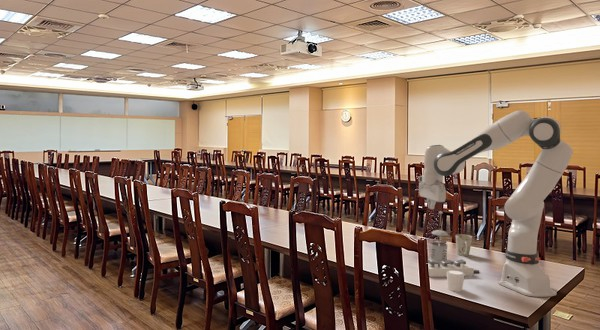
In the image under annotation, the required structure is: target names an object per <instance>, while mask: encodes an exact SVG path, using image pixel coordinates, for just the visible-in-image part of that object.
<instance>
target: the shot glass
mask: <svg viewBox="0 0 600 330" xmlns="http://www.w3.org/2000/svg"><path fill="white" fill-rule="evenodd" d="M464 275H465V273H464V272H461V271H457V270H448V271H447V276H446V286H447V290H449V291H452V292H458V293H459V292H462V291H463V288H464V287H463V286H464V278H465V276H464Z"/></svg>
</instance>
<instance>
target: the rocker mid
mask: <svg viewBox="0 0 600 330" xmlns="http://www.w3.org/2000/svg"><path fill="white" fill-rule="evenodd" d="M453 262H454V261H453V260H451V259H447V260H446V261H441V262H440V264H441V265H442V266H447V264H451V265H453Z"/></svg>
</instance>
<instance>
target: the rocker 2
mask: <svg viewBox="0 0 600 330" xmlns="http://www.w3.org/2000/svg"><path fill="white" fill-rule="evenodd" d="M452 262H453V264H454V265H455V266H460V264H467V261H465V260H463V259H459V260H455V261H452Z"/></svg>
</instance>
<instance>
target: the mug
mask: <svg viewBox="0 0 600 330" xmlns="http://www.w3.org/2000/svg"><path fill="white" fill-rule="evenodd" d="M472 241H473V236H472V235H470V234H460V233H459V234H458V233H457V234H455V248H456V254H457V255H458V256H462V257H467V256H469V255H470V251H471V247H472Z"/></svg>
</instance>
